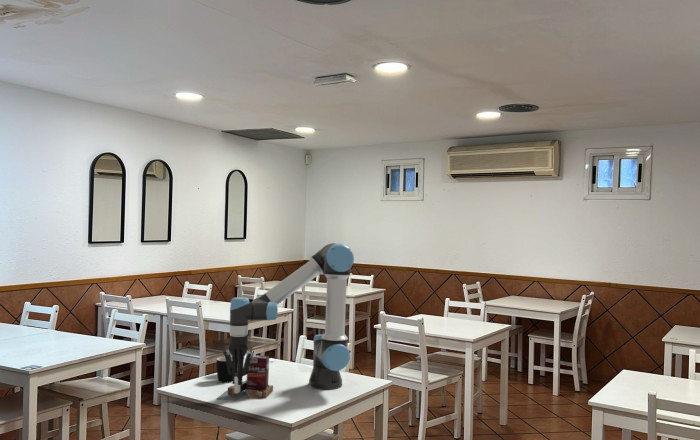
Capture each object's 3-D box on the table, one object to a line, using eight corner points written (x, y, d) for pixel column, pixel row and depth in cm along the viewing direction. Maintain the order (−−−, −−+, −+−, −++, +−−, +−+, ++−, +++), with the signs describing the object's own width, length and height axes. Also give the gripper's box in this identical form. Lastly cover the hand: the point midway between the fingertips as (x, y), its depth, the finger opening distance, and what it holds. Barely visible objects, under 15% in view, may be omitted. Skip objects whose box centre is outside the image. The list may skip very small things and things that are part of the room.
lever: (256, 387, 250) (257, 377, 250) (233, 398, 232) (233, 387, 232) (250, 386, 251) (250, 376, 251) (226, 397, 233) (227, 386, 234)
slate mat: (244, 392, 243) (244, 391, 243) (235, 400, 231) (235, 399, 231) (226, 391, 244) (226, 390, 244) (216, 399, 232) (216, 398, 233)
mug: (229, 384, 256) (230, 361, 256) (212, 382, 258) (212, 360, 259) (242, 378, 267) (242, 356, 268) (225, 376, 270) (225, 354, 270)
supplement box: (245, 394, 240) (246, 357, 240) (248, 391, 244) (249, 354, 245) (265, 395, 239) (266, 358, 239) (268, 392, 244) (269, 355, 244)
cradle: (274, 389, 250) (275, 383, 250) (265, 398, 235) (265, 392, 235) (248, 387, 251) (248, 382, 251) (237, 396, 236) (237, 391, 236)
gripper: (257, 334, 236) (255, 391, 236) (229, 332, 240) (227, 388, 240) (248, 337, 229) (246, 396, 229) (220, 335, 233) (218, 393, 232)
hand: (237, 392), depth 234 cm, fingers closed
